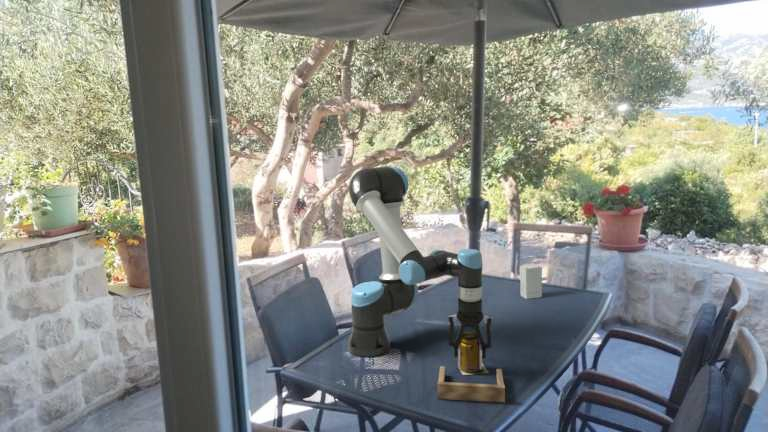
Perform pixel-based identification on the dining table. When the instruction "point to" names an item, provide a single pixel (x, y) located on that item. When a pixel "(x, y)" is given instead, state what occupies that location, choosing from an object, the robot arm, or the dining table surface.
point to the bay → (471, 389)
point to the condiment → (470, 355)
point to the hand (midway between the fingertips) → (469, 366)
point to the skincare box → (531, 281)
